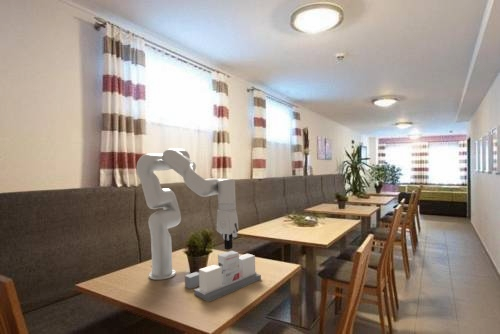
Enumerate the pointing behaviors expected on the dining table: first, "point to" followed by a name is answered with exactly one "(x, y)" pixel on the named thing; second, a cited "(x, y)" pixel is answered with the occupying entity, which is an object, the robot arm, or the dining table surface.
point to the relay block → (192, 280)
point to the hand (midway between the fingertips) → (228, 248)
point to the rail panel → (228, 288)
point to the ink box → (229, 266)
